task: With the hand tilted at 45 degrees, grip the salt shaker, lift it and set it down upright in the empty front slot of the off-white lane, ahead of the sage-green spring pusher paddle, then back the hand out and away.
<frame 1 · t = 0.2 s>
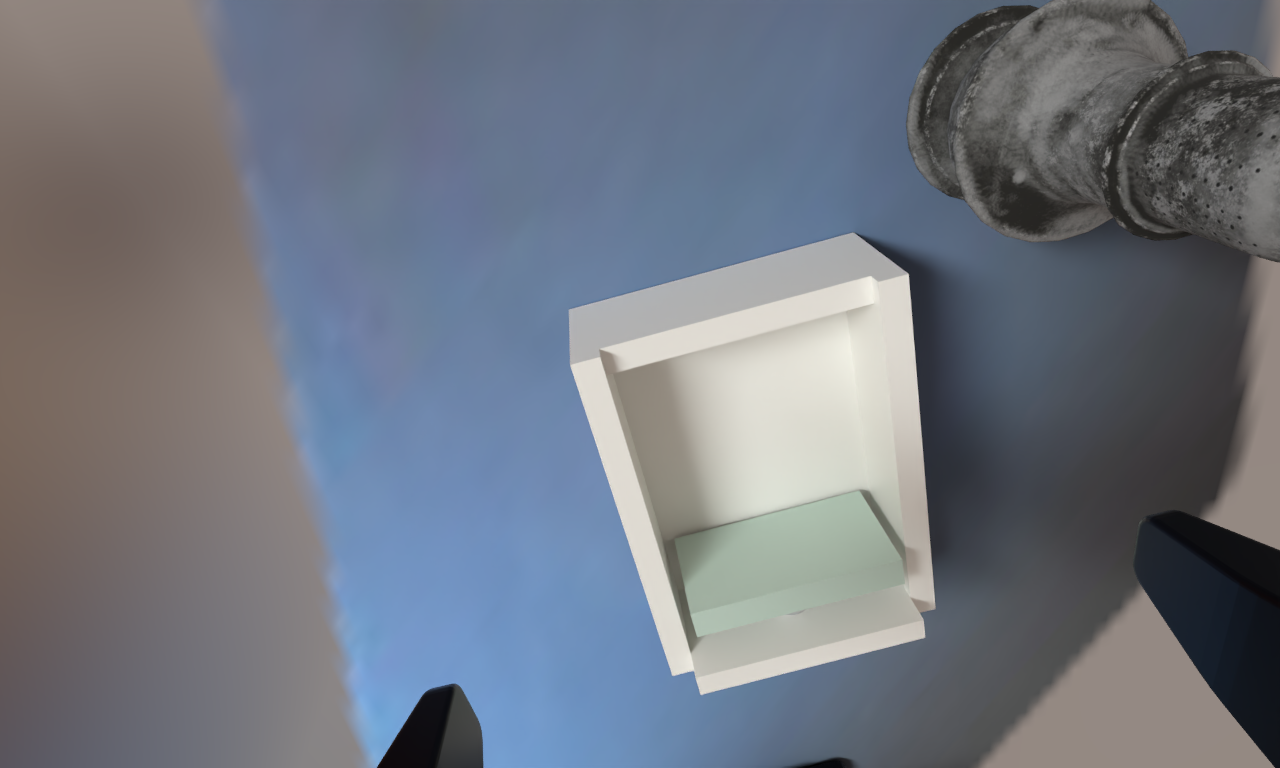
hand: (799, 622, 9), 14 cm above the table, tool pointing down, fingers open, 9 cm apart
pusher: (782, 559, 24), point 3 cm above the table, slide at 0.0 cm
lane: (744, 432, 25), on the table
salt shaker: (992, 107, 21), on the table
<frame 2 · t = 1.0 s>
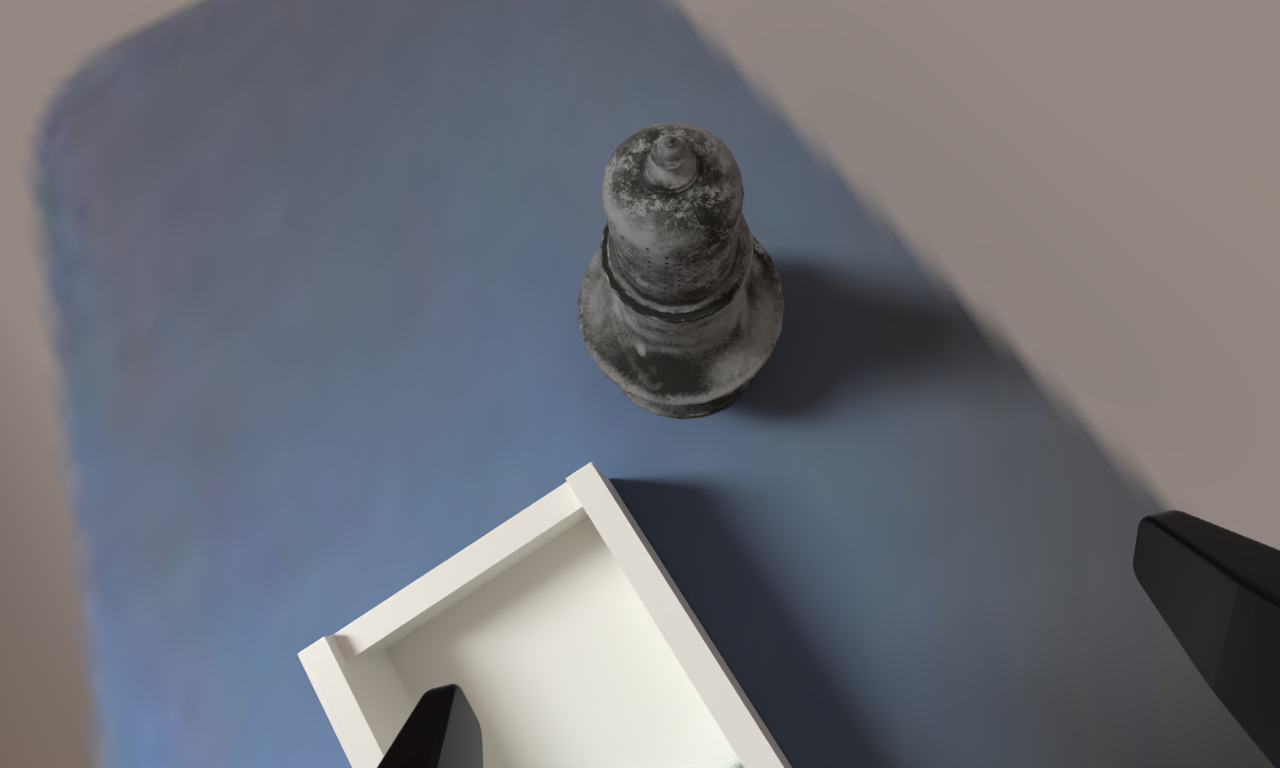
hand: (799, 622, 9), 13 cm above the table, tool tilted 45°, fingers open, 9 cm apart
lane: (588, 732, 22), on the table
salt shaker: (682, 342, 24), on the table
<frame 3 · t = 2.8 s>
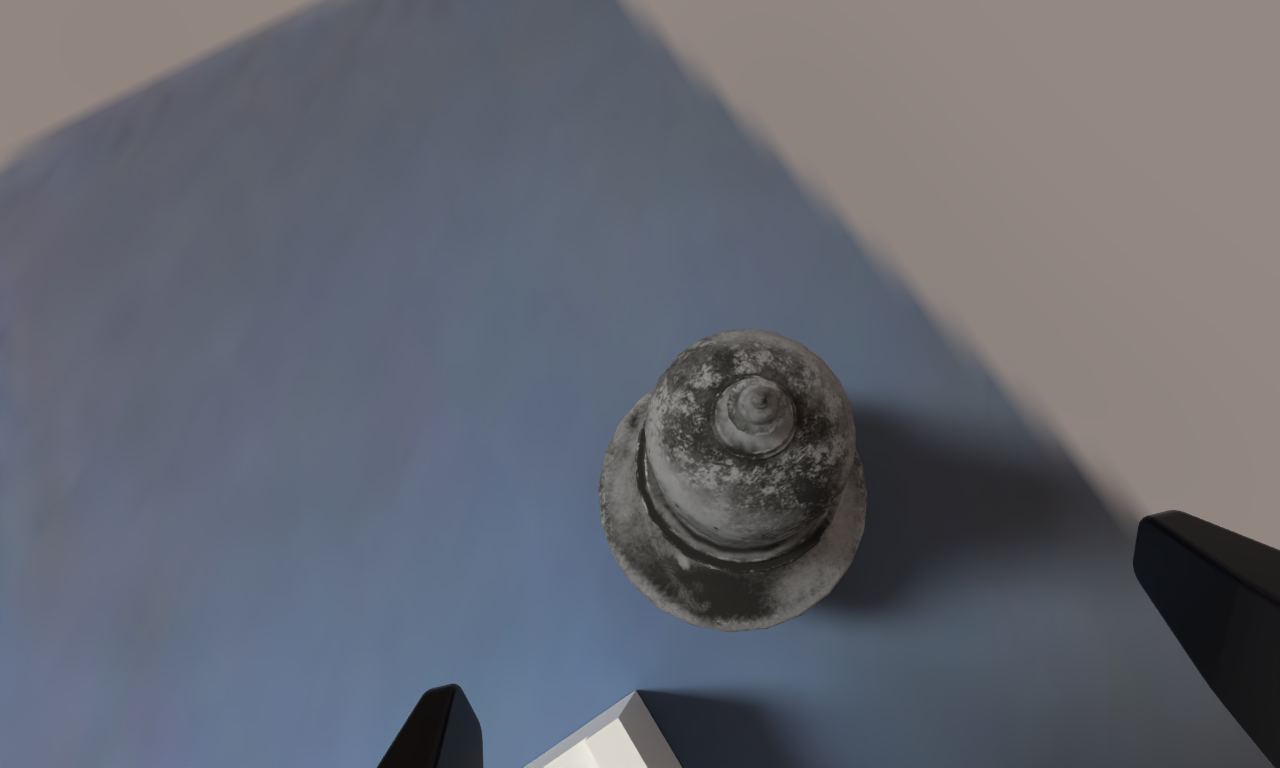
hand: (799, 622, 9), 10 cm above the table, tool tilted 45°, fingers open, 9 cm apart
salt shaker: (725, 508, 20), on the table
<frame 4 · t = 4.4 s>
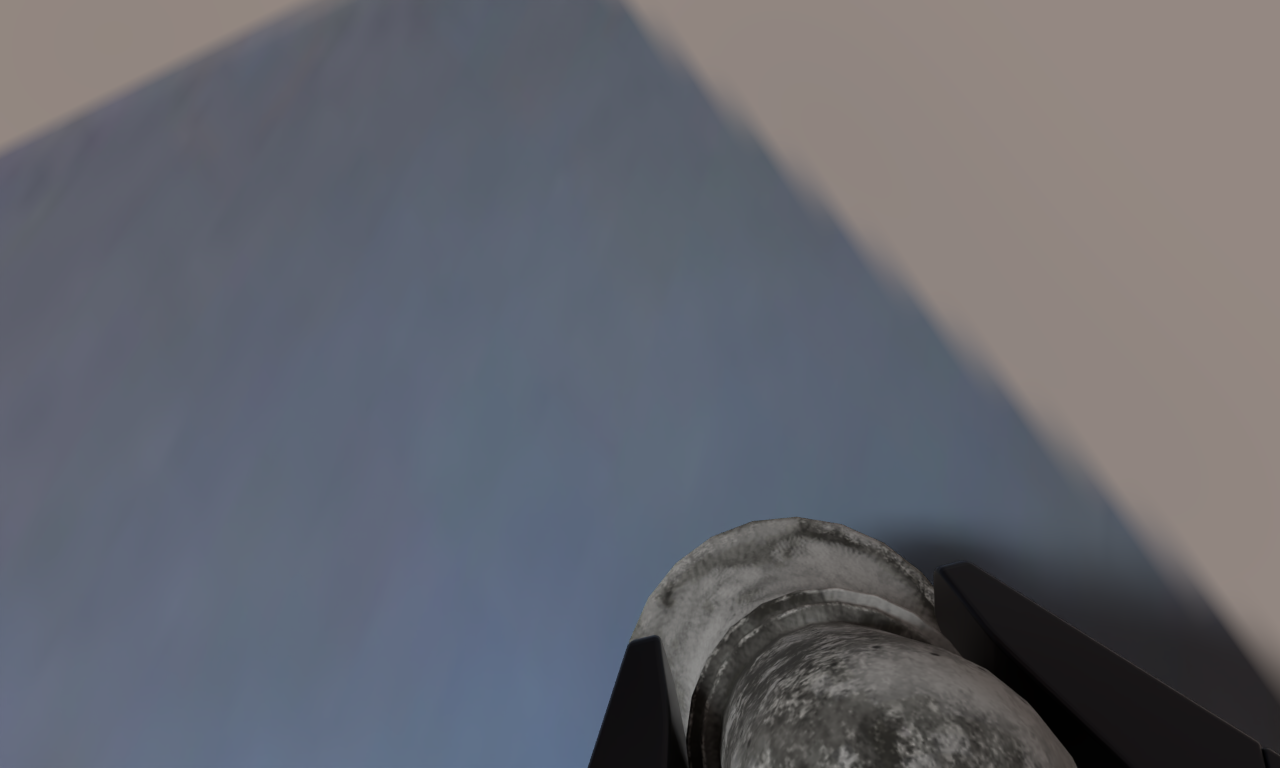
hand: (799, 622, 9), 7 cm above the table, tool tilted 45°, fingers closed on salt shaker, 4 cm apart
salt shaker: (776, 670, 16), on the table, touching gripper
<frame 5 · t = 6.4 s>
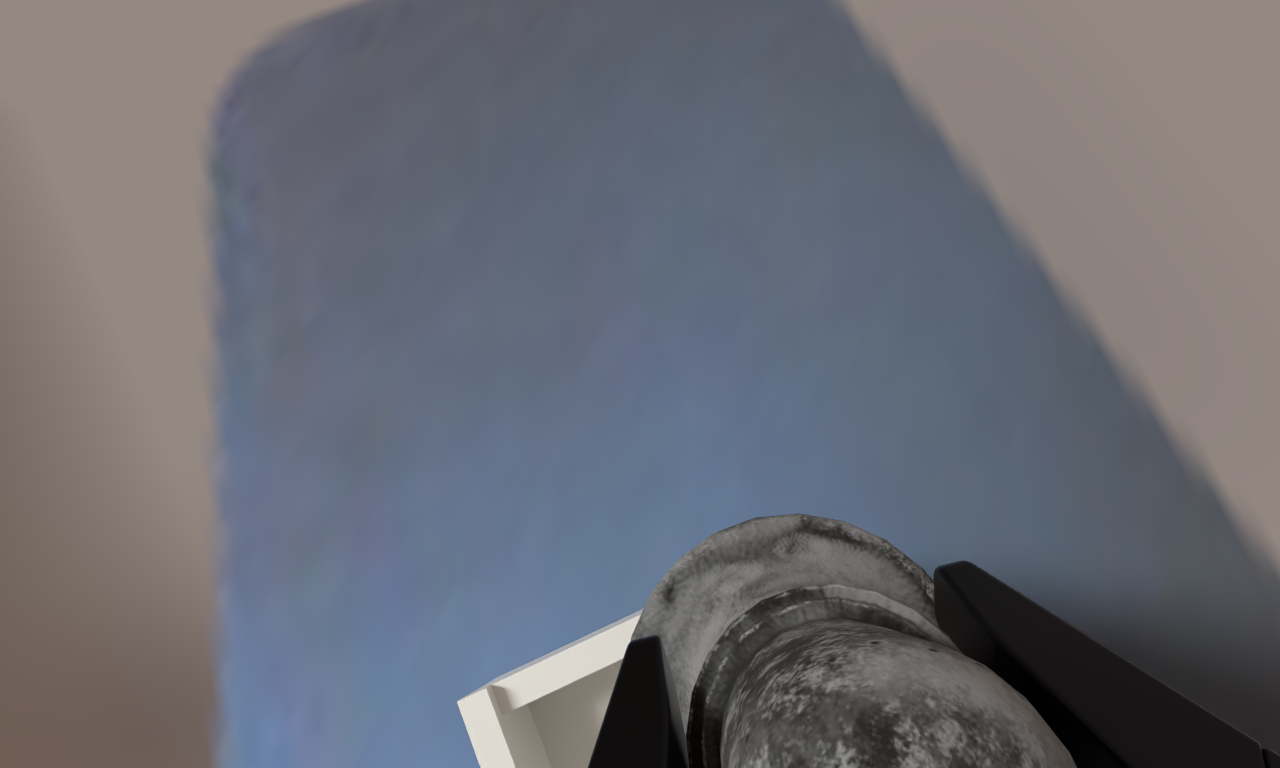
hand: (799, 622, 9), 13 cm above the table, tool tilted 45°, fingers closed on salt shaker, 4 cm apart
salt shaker: (778, 666, 16), point 7 cm above the table, touching gripper
when the fingers open (9 cm above the table, at t = 8.2 s): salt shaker drops 1 cm, resting on lane.
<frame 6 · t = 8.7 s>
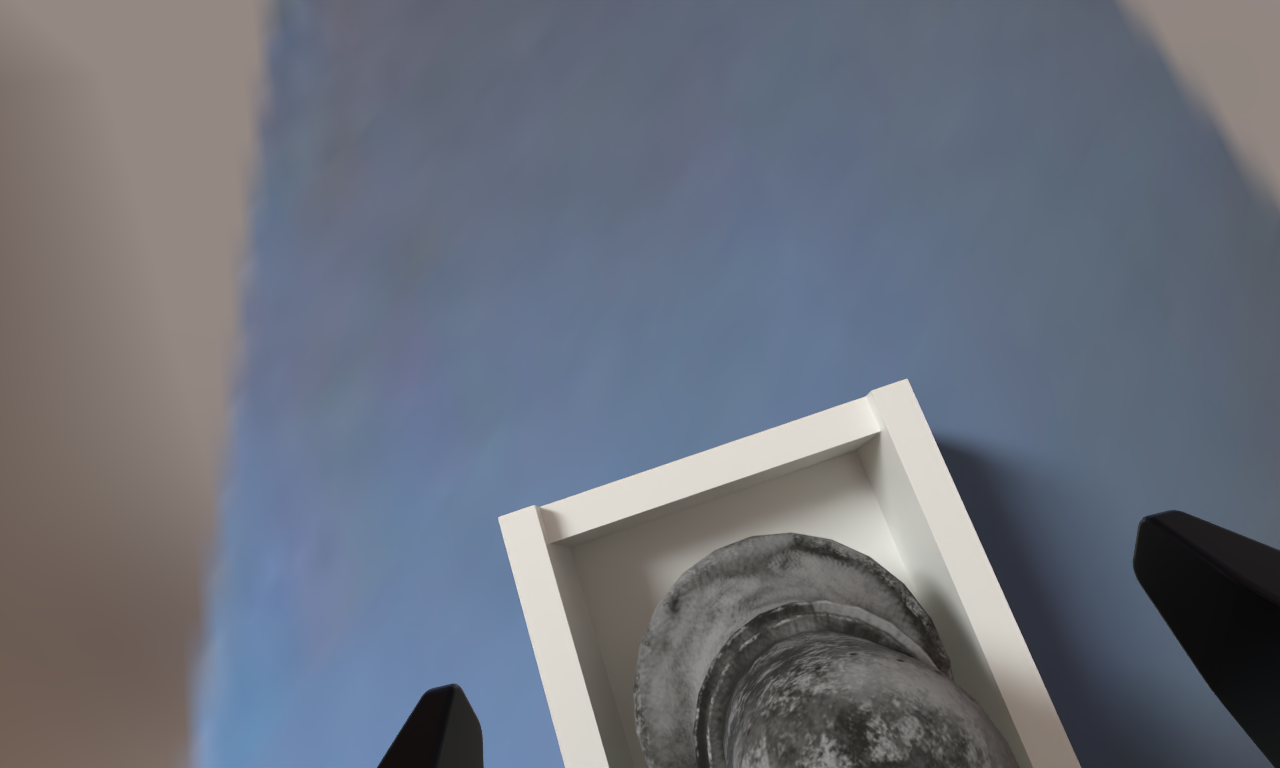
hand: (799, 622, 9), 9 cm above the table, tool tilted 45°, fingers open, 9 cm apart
lane: (786, 711, 18), on the table
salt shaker: (772, 670, 17), point 1 cm above the table, touching lane
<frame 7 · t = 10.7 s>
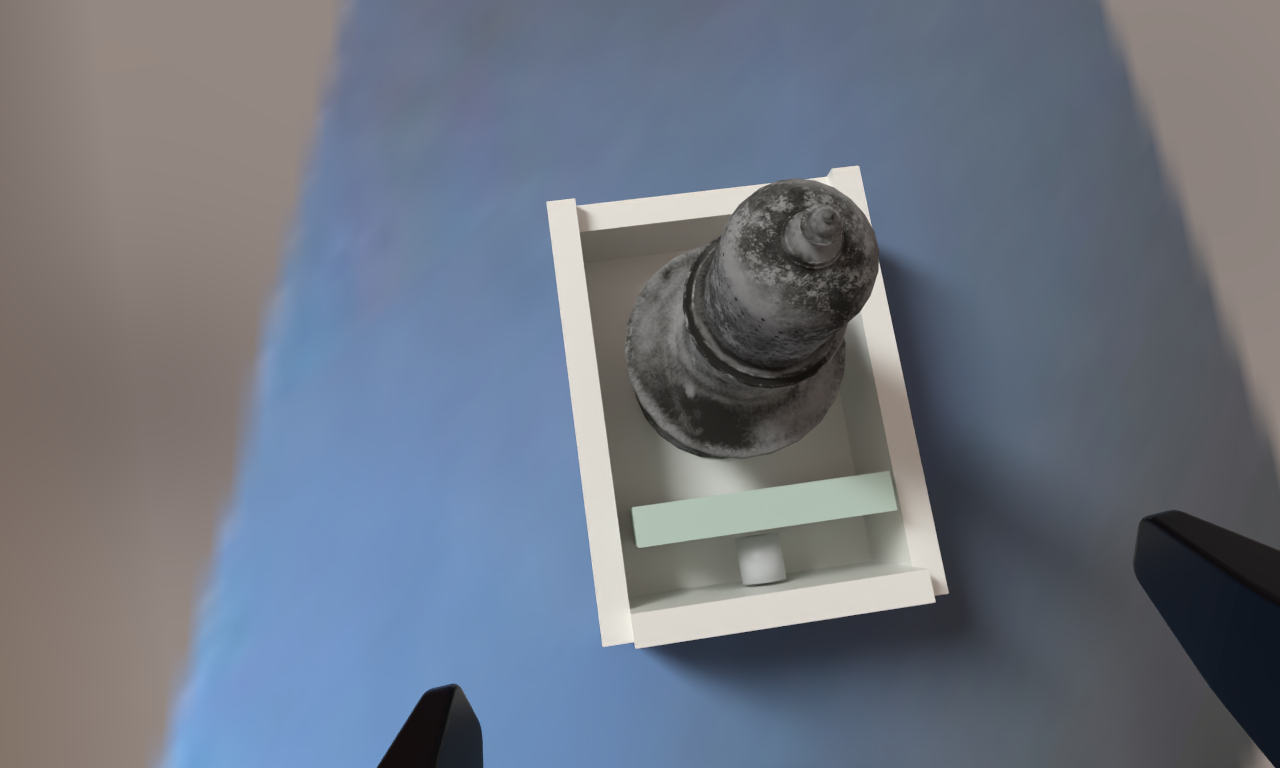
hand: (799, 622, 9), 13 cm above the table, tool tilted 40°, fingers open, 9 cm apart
pusher: (752, 509, 20), point 3 cm above the table, slide at 0.0 cm
lane: (718, 411, 24), on the table
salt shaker: (716, 375, 23), point 1 cm above the table, touching lane
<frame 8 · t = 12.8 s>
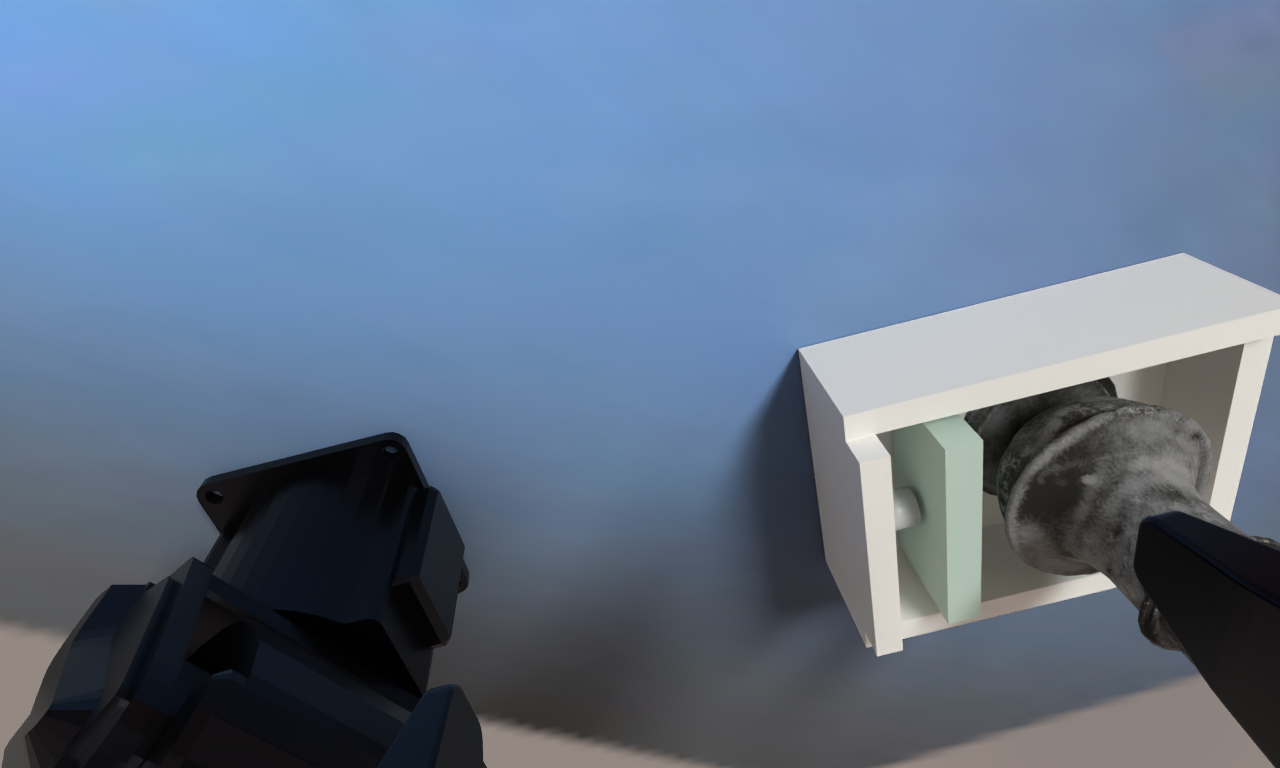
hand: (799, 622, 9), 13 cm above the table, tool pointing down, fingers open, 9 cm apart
pusher: (934, 499, 22), point 3 cm above the table, slide at 0.0 cm
lane: (987, 421, 25), on the table
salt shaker: (1032, 426, 24), point 1 cm above the table, touching lane
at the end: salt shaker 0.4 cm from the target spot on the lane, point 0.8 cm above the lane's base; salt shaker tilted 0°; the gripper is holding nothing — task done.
